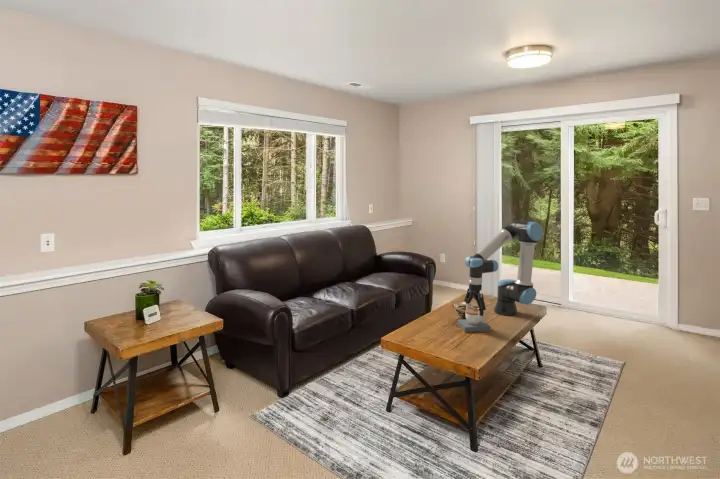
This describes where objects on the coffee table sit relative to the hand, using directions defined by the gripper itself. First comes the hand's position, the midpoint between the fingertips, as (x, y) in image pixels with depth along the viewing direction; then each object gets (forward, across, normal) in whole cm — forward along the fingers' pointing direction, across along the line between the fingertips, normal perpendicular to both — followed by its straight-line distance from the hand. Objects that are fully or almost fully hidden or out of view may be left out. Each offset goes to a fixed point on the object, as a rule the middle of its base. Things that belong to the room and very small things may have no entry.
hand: (474, 316), depth 258 cm
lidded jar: (+4, 0, 0) cm, 4 cm away
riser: (+7, 0, 0) cm, 7 cm away
